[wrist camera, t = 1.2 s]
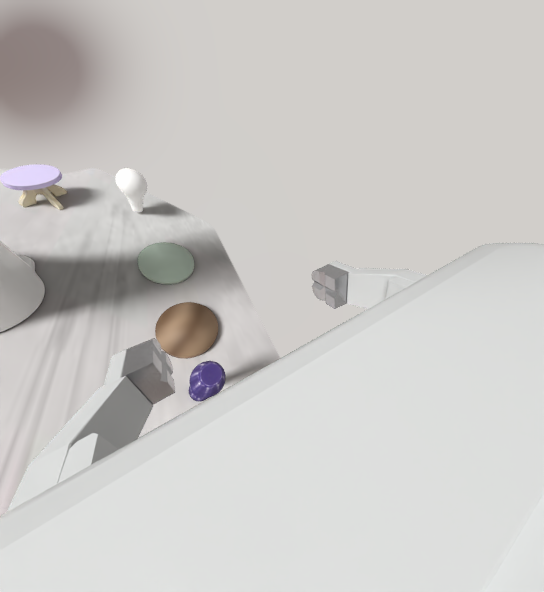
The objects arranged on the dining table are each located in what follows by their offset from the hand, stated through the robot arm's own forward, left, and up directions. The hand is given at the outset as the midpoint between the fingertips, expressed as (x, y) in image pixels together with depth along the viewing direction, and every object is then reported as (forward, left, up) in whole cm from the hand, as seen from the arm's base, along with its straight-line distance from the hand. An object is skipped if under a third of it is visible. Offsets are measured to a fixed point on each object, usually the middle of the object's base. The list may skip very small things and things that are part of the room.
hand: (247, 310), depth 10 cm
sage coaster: (-16, +27, -34) cm, 46 cm away
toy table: (-46, +34, -35) cm, 67 cm away
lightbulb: (-29, +41, -35) cm, 61 cm away
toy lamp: (0, +1, -35) cm, 35 cm away
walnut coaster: (-6, +12, -34) cm, 37 cm away
